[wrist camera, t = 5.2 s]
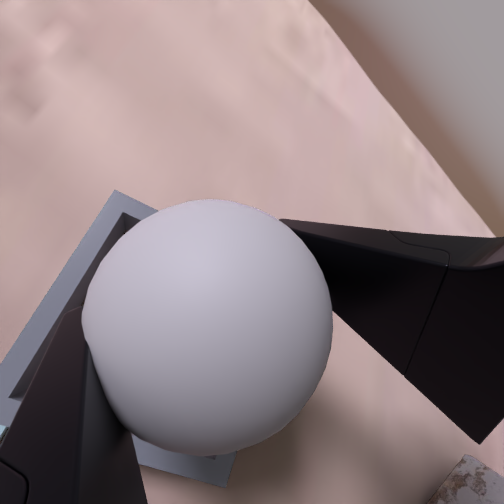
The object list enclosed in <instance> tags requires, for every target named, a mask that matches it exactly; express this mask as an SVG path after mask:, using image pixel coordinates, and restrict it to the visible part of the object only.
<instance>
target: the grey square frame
mask: <svg viewBox="0 0 504 504" xmlns="http://www.w3.org/2000/svg"><path fill="white" fill-rule="evenodd" d="M156 212H158V210H156V209H154V208H152V207H149V206H147V205H145V204H143V203H141V202H139V201H137V200H135V199H133V198H131V197H129V196H127V195H125V194H123V193H121V192H119V191H117V190H114V191H113V193H112V194H111V196H110V198H109V199H108V201H107V202H106V204H105V205H104V207H103V208H102V210H101V211H100V213H99V214H98V216H97V217H96V219H95V220H94V222H93V224H92V225H91V227H90V228H89V230H88V231H87V233H86V234H85V236H84V237H83V239H82V240H81V242H80V243H79V245H78V247H77V248H76V250H75V251H74V253H73V254H72V256H71V257H70V259H69V260H68V262H67V263H66V265H65V266H64V268H63V269H62V271H61V273H60V274H59V276H58V277H57V279H56V280H55V282H54V283H53V285H52V286H51V288H50V289H49V291H48V292H47V294H46V296H45V297H44V299H43V300H42V302H41V303H40V305H39V306H38V308H37V309H36V311H35V312H34V314H33V315H32V317H31V318H30V320H29V322H28V323H27V325H26V326H25V328H24V329H23V331H22V332H21V334H20V335H19V337H18V338H17V340H16V341H15V343H14V345H13V346H12V348H11V349H10V351H9V352H8V354H7V355H6V357H5V358H4V360H3V361H2V363H1V364H0V425H3V426H6V427H10V425H11V423H12V421H13V418H14V416H15V414H16V412H17V410H18V408H19V406H20V404H21V402H22V400H23V398H24V396H25V394H26V392H27V390H28V388H29V385H30V383H31V381H32V379H33V377H34V375H35V373H36V371H37V369H38V367H39V365H40V363H41V361H42V359H43V357H44V355H45V353H46V350H47V348H48V346H49V344H50V342H51V340H52V338H53V336H54V334H55V332H56V330H57V328H58V326H59V324H60V322H61V320H62V318H63V315H64V314H65V313H66V312H68V311H70V310H73V309H75V308H77V307H80V306H81V304H82V302H83V301H84V299H85V297H86V295H87V291H88V287H89V285H90V283H91V281H92V279H93V277H94V275H95V273H96V271H97V269H98V267H99V265H100V263H101V261H102V260H103V259H104V257H105V256H106V255H107V254H108V252H109V251H110V250H111V249H112V247H113V246H114V245H115V243H116V242H117V241H118V240H119V239H120V238H121V237H122V235H123V233H124V232H125V230H127V231H129V230H130V229H131V228H133V227H134V226H135V225H136V224H137V223H139V222H140V221H141V220H143V219H145V218H147V217H149V216H151V215H153V214H154V213H156ZM131 434H132V433H131ZM132 438H133V442H134V447H135V451H136V455H137V460H138V464H141V465H145V466H149V467H152V468H156V469H159V470H163V471H166V472H170V473H173V474H177V475H181V476H184V477H188V478H191V479H195V480H198V481H202V482H206V483H209V484H213V485H216V486H220V487H223V488H226V485H227V482H228V479H229V475H230V472H231V469H232V466H233V463H234V459H235V456H236V453H237V451H234V452H231V453H228V454H221V455H210V456H195V455H188V454H182V453H176V452H171V451H167V450H164V449H161V448H159V447H157V446H155V445H152V444H150V443H148V442H145V441H143V440H141V439H139V438H138V437H136V436H135V435H134V434H132Z"/></svg>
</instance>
